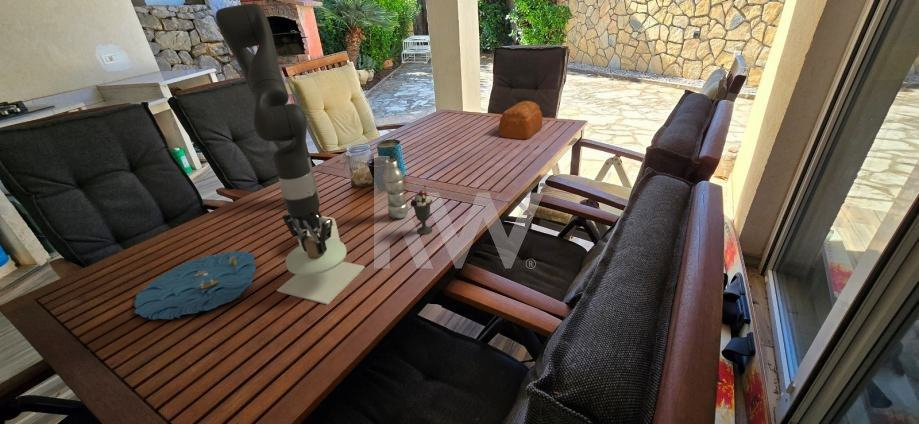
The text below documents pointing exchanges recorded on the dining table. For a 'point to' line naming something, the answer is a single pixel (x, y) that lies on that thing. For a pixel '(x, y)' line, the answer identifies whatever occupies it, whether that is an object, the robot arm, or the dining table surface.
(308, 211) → the robot arm
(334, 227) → the bowl
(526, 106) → the bread
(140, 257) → the dining table surface
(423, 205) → the sundae
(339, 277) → the mat
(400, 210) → the plastic bottle
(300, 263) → the lid
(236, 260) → the decorative plate
